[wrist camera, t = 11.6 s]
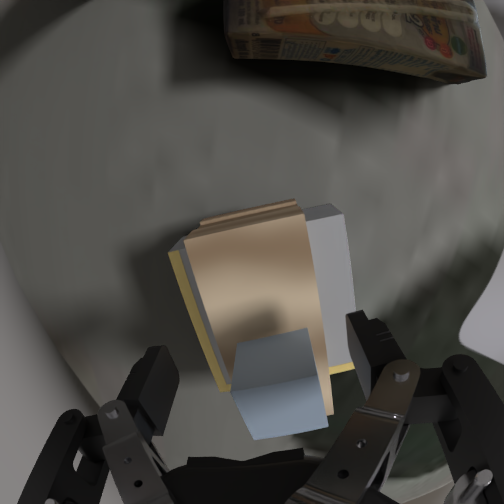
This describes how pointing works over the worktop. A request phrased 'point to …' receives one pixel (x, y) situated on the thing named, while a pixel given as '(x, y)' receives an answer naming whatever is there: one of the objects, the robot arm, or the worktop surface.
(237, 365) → the pale blue cube
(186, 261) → the dock
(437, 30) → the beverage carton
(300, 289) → the tan rectangular block
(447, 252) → the worktop surface
